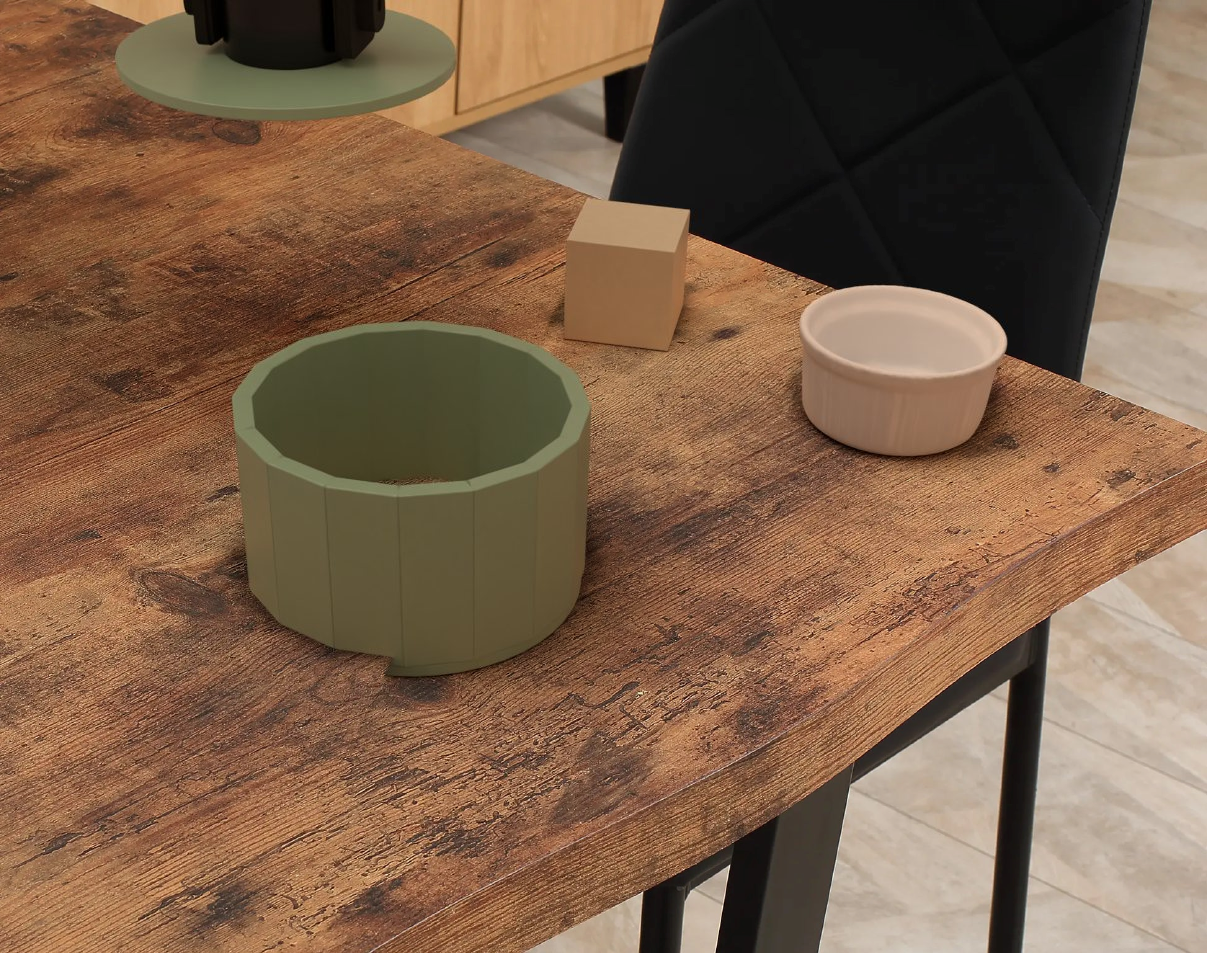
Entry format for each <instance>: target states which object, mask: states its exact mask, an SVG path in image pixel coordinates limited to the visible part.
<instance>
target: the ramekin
mask: <svg viewBox="0 0 1207 953" xmlns="http://www.w3.org/2000/svg"><path fill="white" fill-rule="evenodd" d="M798 328H799V329H798V330H799V338H800V341H801V345H802V358H801V359H802V362H801V365H802V367H801V368H802V370H801V374H802V375H801V400H802V406H803V410H804V412H805V414H806V416H807V418H808V420H809V421H810V422H811V423H812V425H814V426H815V427H816V429H818V430H819V431H821V432H822V433H823V434H824V435H826V436H828V437H829V438H831V439H833V440H835V441H836V442H839V443H841V444H843V445H846V446H848V447H851V448H854V449H857V450H860V451H864V452H868V453H873V454H878V455H883V456H892V457H893V456H896V457H916V456H917V457H918V456H927V455H932V454H934V455H935V454H938V453H942V452H946V451H948V450H951V449H953V448H956V447H958V446H960V445H962V444H965V442H967V441H968V440H969V439H970V438H972V436H973V435H974V434H975V432H976V431H977V429H978V427H979V426H980V423H981V421H982V420H983V416H984V413H985V412H986V408H987V405H988V401H989V398H990V394H991V391H992V386H993V383H994V379H995V377H996V376H995V375H996V372H997V369H998V368H999V367H1000V364H1001V362H1002V361H1003V358H1004V356H1005V353H1006V351H1007V348H1008V337H1007V334H1006V332H1005V330H1004V329H1003V326H1001V324H1000V323H999V322H998V320H996V319H995V318H994V317H993V316H992V315H990V314H989V313H987V312H986V311H985V310H983V309H981V308H979V307H978V306H977V305H974V304H971V303H969V302H967V301H965V300H962V299H960V298H957V297H954V296H951V295H948V294H945V293H942V292H937V291H932V290H929V289H923V288H917V287H911V286H902V285H885V284H881V285H878V284H877V285H876V284H874V285H859V286H852V287H847V288H846V287H845V288H842V289H837V290H834V291H831V292H828V293H825V294H823V295H820V296H819V297H818V298H816V299H814V300H813V301H812V302H810V303H809V304H808V305H807V306H806V307H805V308H804V309H803V311H802V313H801V314H800V318H799V323H798Z"/></svg>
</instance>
